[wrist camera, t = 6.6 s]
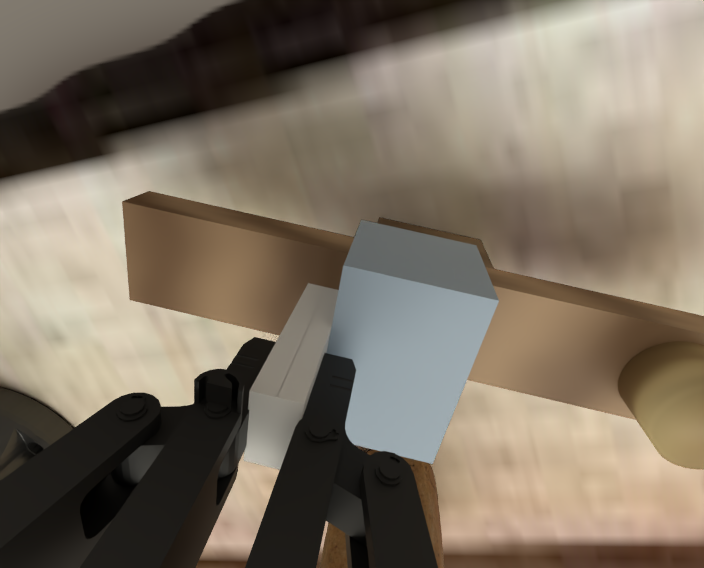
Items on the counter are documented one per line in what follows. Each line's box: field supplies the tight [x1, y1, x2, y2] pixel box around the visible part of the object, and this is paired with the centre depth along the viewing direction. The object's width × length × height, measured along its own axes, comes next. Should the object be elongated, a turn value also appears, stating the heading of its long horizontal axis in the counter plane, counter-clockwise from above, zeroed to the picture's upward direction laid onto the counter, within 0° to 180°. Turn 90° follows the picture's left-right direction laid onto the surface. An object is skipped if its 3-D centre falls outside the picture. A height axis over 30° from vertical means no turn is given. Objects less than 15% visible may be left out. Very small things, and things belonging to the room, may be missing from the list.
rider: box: [327, 220, 499, 464], centre depth 17 cm, size 5×8×5 cm, turn 169°
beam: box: [122, 191, 704, 469], centre depth 20 cm, size 28×5×10 cm, turn 79°
